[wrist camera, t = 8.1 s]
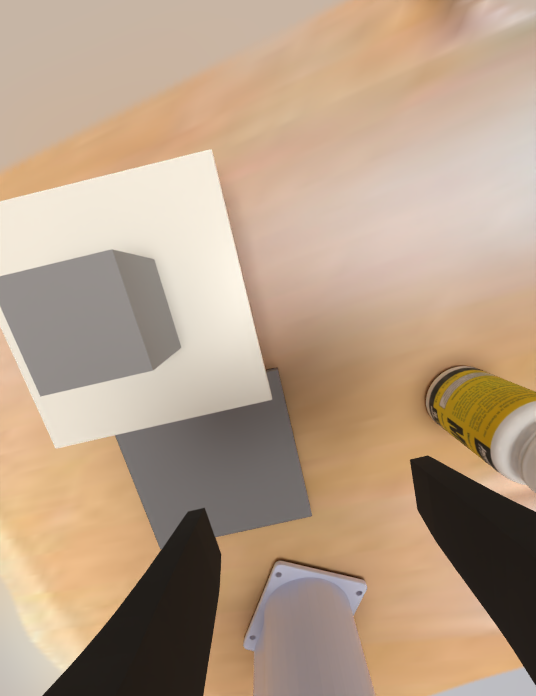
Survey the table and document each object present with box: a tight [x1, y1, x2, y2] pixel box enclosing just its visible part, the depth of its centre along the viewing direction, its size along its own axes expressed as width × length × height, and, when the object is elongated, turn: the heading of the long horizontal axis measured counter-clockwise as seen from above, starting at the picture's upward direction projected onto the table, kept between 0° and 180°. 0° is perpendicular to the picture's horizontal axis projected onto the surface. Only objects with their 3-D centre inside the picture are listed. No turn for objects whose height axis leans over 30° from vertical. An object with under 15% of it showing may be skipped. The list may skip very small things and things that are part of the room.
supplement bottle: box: [426, 366, 536, 493], centre depth 16 cm, size 5×5×8 cm
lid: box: [0, 149, 272, 448], centre depth 11 cm, size 11×11×4 cm
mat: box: [115, 368, 312, 549], centre depth 20 cm, size 12×12×1 cm
